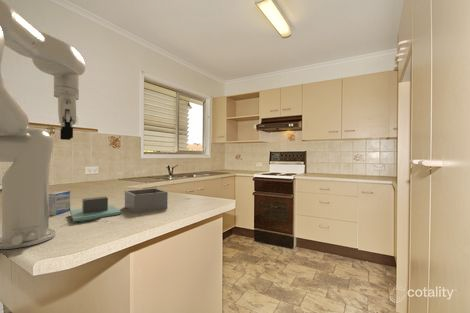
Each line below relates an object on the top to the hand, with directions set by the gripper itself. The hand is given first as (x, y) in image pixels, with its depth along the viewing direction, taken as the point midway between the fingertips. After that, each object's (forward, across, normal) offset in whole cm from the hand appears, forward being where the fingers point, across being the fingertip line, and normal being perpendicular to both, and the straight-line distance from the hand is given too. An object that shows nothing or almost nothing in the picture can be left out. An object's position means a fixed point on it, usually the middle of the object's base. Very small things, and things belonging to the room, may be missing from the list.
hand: (66, 138), depth 83 cm
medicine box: (+31, +12, +2) cm, 33 cm away
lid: (+29, -3, -9) cm, 31 cm away
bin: (+30, -5, -28) cm, 42 cm away
